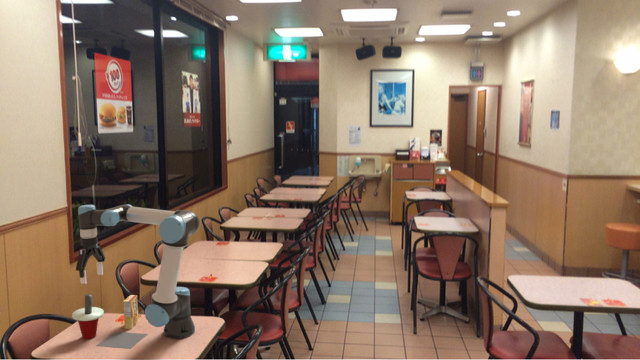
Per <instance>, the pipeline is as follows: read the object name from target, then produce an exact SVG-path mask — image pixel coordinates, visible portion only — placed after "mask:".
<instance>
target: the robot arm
mask: <svg viewBox="0 0 640 360" xmlns="http://www.w3.org/2000/svg"><path fill="white" fill-rule="evenodd" d="M77 209H78V210H77V211H78V223H79V224H78V225H79V234H80V246H82V247H83V248H82V249H79V250H78V256H77V261H76V266H75V271H77V272H78V273H79V280H80V281H79V282H80V284H81V285H83V284H85V285H87V283H88V282H87V272H86V271H87V270H86V267H87V264H88V261H89V259H90V258H91V257H92V256H93V257H94V259H95V260H96V262H95V263H96V274H97V275H98V276H103V275H104V264H103V263H104V262H105V260H106V256H105V254H104V251H103V249H102V248H101V247H102V246H101V243H100V242H99V240H98V239H99V238H98V236H97V235H98V229H97V226H101V227H102V226H103V227H113V226H116V225H117V224H118V223H119V222H122V221H123V222H131V223H132V222H133V223H139V224H146V225H148V224H149V225H154V226H155V225H156V226H158V236H160V238H161V239H160V240H161V241H160V242H161V244H162V245H163V251H162V255H161V262H160V268H159V273H158V274H159V275H158V279H157V285H156V290H155V292H154V293H153V294H152V295H151V300H150V304H148V305H147V306H146V307H145V310H144V317H145V319H146V321H147V322H148V324H150V326H153V327H155V328H161V327H163V336H164V337H166V338H169V339H171V340H176V339H177V340H178V339H184V338H187V337H190V336H192V335H193V334H195V331H196V326H195V323H194V321H193V319H192V316H191V293H190V289H189V288H188V287H184V286H177V284H178V278H179V273H180V267H181V261H182V257H183V251H184V248H186V247H187V245H188V244H189V243H188V241H189V239H190V238H189V237H190V236H192V235H193V234H195V233H196V232H197V231H198V230H199V228H200V224H201V223H200V218H199V216H198V215H197V214H196V212H194V211H192V210H187V209H186V210H182V209H176V210H175V211H174V210H164V209H156V208H148V207H140V206H139V207H138V206H132V205H131V204H128V203H127V204H121V205H118V206H115V207H111V208H107V209H96V206H95V205H94V204H84V205H83V204H82V205H80V206H79V207H78V208H77ZM97 275H96V276H97Z"/></svg>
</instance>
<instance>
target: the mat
mask: <svg viewBox="0 0 640 360" xmlns="http://www.w3.org/2000/svg"><path fill="white" fill-rule="evenodd" d="M148 335H149V334H148V333H139V332H138V333H137V332H126V331H114V332H113V333H111V334H110V335H109V336H107V337H106V338H105V339H103V340H102V341H100V342H99V343H98V344H96V345H95V347H101V348H114V349H115V348H117V349H129V350H131V349H132V348H133V347H134V346H136V345H137V344H138V343H139V342H141V341H142V340H143V339H144V338H146V337H147V336H148Z"/></svg>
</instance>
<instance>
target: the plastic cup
mask: <svg viewBox="0 0 640 360" xmlns="http://www.w3.org/2000/svg"><path fill="white" fill-rule="evenodd" d="M99 320H100V318H98V319H95V320H90V321H79V320H77V322H78V327H79V330H80V333H81V337H82V339H83V340H93V339H94V338H96V337H97V331H98V325H99V324H98V323H99Z"/></svg>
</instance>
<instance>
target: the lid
mask: <svg viewBox="0 0 640 360" xmlns="http://www.w3.org/2000/svg"><path fill="white" fill-rule="evenodd" d="M104 314H105V313H104V309H103V308H100V307H97V306H93V294H91V293H87V294H85V295H84V307H81V308H78V309H76V310H74V311H73V312H72V314H71V316H72V319H73V320H76V321H78V320H79V321H90V320H95V319H98V318H99V319H100V318H102V317H103V316H104ZM99 319H98V320H99Z"/></svg>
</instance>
